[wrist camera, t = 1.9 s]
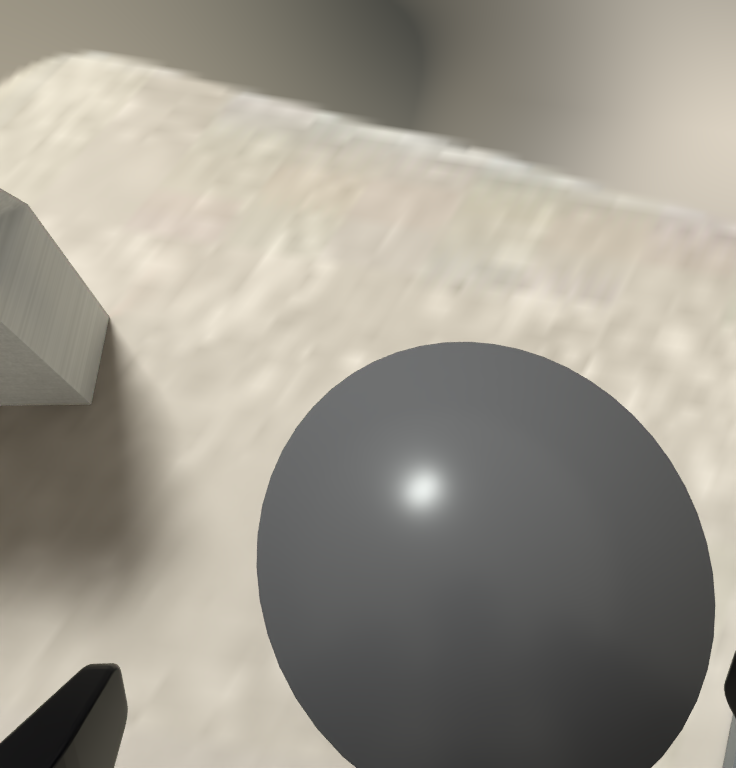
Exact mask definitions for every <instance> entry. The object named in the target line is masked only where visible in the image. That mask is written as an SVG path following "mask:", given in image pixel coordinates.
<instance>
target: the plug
mask: <svg viewBox="0 0 736 768" xmlns="http://www.w3.org/2000/svg"><path fill="white" fill-rule="evenodd" d="M257 576H258V586H259V597H260V603H261V607H262V612H263V616H264V621H265V625H266V630H267V634H268V636H269V639H270V642H271V645H272V647H273V650H274V653H275V656H276V658H277V661H278V664H279V667H280V668H281V670H282V672H283V674H284V676H285V678H286V680H287V682H288V684H289V686H290V688H291V690H292V692H293V694H294V695H295V697H296V699H297V701H298V702H299V703H300V705H301V706H302V708H303V709H304V711H305V712H306V713H307V715H308V716H309V718H310V719H311V721H312V722H313V723H314V725H315V726H316V728H317V729H318V730H319V731H320V732H321V733H322V735H323V736H324V737H325V738H326V739H327V740H328V741H329V742H330V743H331V744H332V745H333V746H334V748H335V749H336V750H337V751H338V752H339V753H340V754H341V755H342V756H343V757H344V758H345V759H346V760H348V761H349V762H350V763H351V764H352V765H354V766H355V767H356V768H651V767H652V766H653V765H654V764H655V763H656V762H657V761H658V760H659V759H660V758H662V757H663V755H664V754H665V752H666V751H667V750H668V748H669V747H670V746H671V744H672V743H673V741H674V740H675V739H676V737H677V736H678V735H679V733H680V732H681V731H682V729H683V727H684V725H685V723H686V721H687V719H688V717H689V715H690V713H691V711H692V709H693V708H694V706H695V704H696V702H697V699H698V696H699V693H700V690H701V688H702V685H703V682H704V679H705V676H706V673H707V670H708V665H709V659H710V654H711V649H712V643H713V638H714V620H715V596H714V582H713V572H712V567H711V562H710V557H709V552H708V546H707V542H706V539H705V536H704V533H703V530H702V526H701V523H700V520H699V517H698V514H697V512H696V509H695V507H694V505H693V503H692V500H691V498H690V496H689V494H688V491H687V489H686V487H685V485H684V483H683V482H682V480H681V478H680V476H679V475H678V473H677V471H676V470H675V468H674V466H673V464H672V463H671V461H670V459H669V458H668V457H667V455H666V454H665V453H664V451H663V450H662V449H661V447H660V446H659V445H658V443H657V442H656V440H655V439H654V438H653V436H652V435H651V434H650V433H649V432H648V431H647V430H646V429H645V428H644V427H643V425H642V424H641V423H640V422H639V421H638V420H637V419H636V418H635V417H634V416H633V415H632V414H631V413H630V412H629V411H628V410H627V409H626V408H625V407H623V406H622V405H621V404H620V403H619V402H618V401H617V400H616V399H614V398H613V397H612V396H611V395H609V394H608V393H607V392H605V391H604V390H602V389H601V388H600V387H598V386H597V385H596V384H594V383H593V382H591V381H590V380H588V379H586V378H585V377H583V376H581V375H579V374H578V373H576V372H574V371H572V370H571V369H569V368H567V367H565V366H563V365H560V364H558V363H556V362H554V361H551V360H549V359H547V358H545V357H542V356H539V355H536V354H532V353H529V352H526V351H523V350H520V349H516V348H511V347H506V346H501V345H496V344H487V343H476V342H447V343H438V344H431V345H424V346H419V347H415V348H411V349H408V350H404V351H400V352H396V353H394V354H392V355H389V356H387V357H384V358H382V359H379V360H377V361H374V362H372V363H371V364H369V365H367V366H365V367H363V368H362V369H360V370H358V371H356V372H354V373H353V374H351V375H350V376H348V377H347V378H346V379H344V380H343V381H342V382H340V383H339V384H338V385H336V386H335V387H334V388H332V389H331V390H330V391H329V392H328V393H327V394H326V395H325V396H324V397H323V398H322V399H321V400H320V401H319V402H318V403H317V404H316V405H315V406H313V408H312V409H311V410H310V411H309V413H308V414H307V415H306V416H305V418H304V419H303V420H302V421H301V423H300V424H299V425H298V426H297V428H296V429H295V431H294V433H293V434H292V436H291V437H290V439H289V441H288V442H287V444H286V446H285V447H284V449H283V451H282V453H281V455H280V457H279V460H278V462H277V464H276V466H275V469H274V471H273V473H272V475H271V478H270V481H269V485H268V488H267V492H266V495H265V498H264V502H263V505H262V511H261V518H260V524H259V530H258V540H257Z"/></svg>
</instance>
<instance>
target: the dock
mask: <svg viewBox="0 0 736 768" xmlns="http://www.w3.org/2000/svg"><path fill="white" fill-rule="evenodd" d="M723 768H736V718H735V716H734V714H733V717H732V722H731V728H730V733H729V738H728V743H727V748H726V753H725V758H724V763H723Z"/></svg>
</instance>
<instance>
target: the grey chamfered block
mask: <svg viewBox="0 0 736 768" xmlns="http://www.w3.org/2000/svg"><path fill="white" fill-rule="evenodd" d="M108 321H109V315H108V314H107V313H106V311H105V310H104V309H103V307H102V306H101V304H100V303H99V302H98V300H97V299H96V298H95V296H94V295H93V293H92V292H91V291H90V289H89V288H88V287H87V285H86V284H85V282H84V281H83V280H82V278H81V277H80V276H79V274H78V273H77V271H76V270H75V269H74V267H73V266H72V265H71V263H70V262H69V261H68V259H67V258H66V256H65V255H64V254H63V252H62V251H61V250H60V248H59V247H58V245H57V244H56V243H55V241H54V240H53V239H52V237H51V236H50V234H49V233H48V232H47V230H46V229H45V228H44V226H43V225H42V223H41V222H40V221H39V219H38V218H37V217H36V215H35V214H34V212H33V211H32V210H31V208H30V207H29V206H28V204H26V203H24V202H23V201H21V200H19V199H18V198H16V197H14V196H12V195H11V194H9V193H7V192H6V191H4V190H2V189H1V188H0V406H19V405H91V404H92V399H93V394H94V389H95V385H96V380H97V375H98V370H99V365H100V360H101V355H102V351H103V346H104V341H105V336H106V331H107V326H108Z"/></svg>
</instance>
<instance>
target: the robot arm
mask: <svg viewBox="0 0 736 768" xmlns="http://www.w3.org/2000/svg"><path fill="white" fill-rule="evenodd" d="M724 691H725V696H726V699H727V702H728V705H729V707H730V709H731V711H732V712H733V714H734V716H735V718H736V651H735V654H734V657H733V660H732V662H731V665H730V668H729V671H728V674H727V677H726V680H725V684H724ZM127 713H128V706H127V700H126V694H125V689H124V684H123V679H122V674H121V670H120V667H119V666H118V665H117V664H114V663H108V664H90V665H87V666H86V667H84V668H82V669H81V670H80V671H79V672H78V673H77V674H76V675H74V676H73V677H72V678H71V679H70V680H69V681H68V682H67V683H66V684H65V685H63V686H62V687H61V688H60V689H59V690H58V691H57V692H56V693H55V694H54V695H52V696H51V697H50V698H49V699H48V700H47V701H46V702H45V703H44V704H43V705H42V706H40V707H39V708H38V709H37V710H36V711H35V712H34V713H33V714H32V715H31V716H29V717H28V718H27V719H26V720H25V721H24V722H23V723H22V724H21V725H20V726H18V727H17V728H16V729H15V730H14V731H13V732H12V733H11V734H10V735H9V736H7V737H6V738H5V739H4V740H3V741H2V742H1V743H0V768H114V766H115V762H116V758H117V755H118V751H119V747H120V744H121V740H122V736H123V733H124V729H125V725H126V720H127Z"/></svg>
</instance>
